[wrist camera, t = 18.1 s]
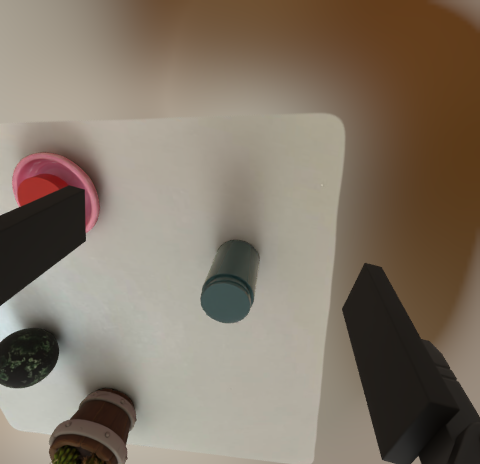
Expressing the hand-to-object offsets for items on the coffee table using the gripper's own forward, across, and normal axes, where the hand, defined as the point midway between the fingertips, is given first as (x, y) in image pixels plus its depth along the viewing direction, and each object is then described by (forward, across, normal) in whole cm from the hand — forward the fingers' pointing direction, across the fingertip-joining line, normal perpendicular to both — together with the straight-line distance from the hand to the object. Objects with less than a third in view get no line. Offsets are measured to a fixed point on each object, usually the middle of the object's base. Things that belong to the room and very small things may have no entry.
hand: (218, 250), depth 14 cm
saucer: (+27, -26, -13) cm, 40 cm away
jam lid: (+22, -26, -13) cm, 36 cm away
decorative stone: (+27, -32, -45) cm, 61 cm away
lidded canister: (+27, +1, -17) cm, 31 cm away
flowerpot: (+27, -18, -60) cm, 68 cm away
